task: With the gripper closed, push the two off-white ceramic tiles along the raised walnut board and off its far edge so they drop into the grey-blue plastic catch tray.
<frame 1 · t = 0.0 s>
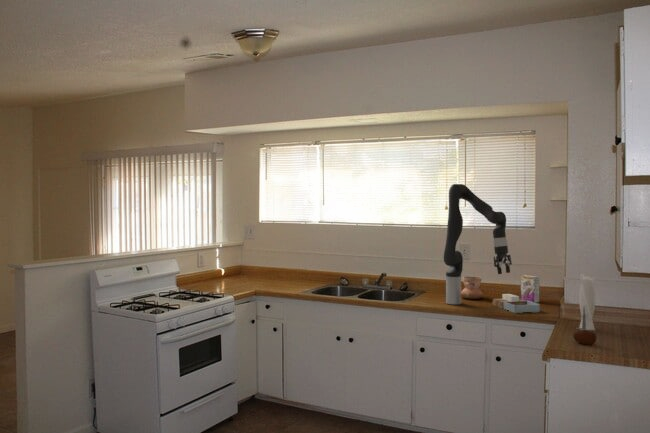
hand: (504, 273, 326), 22 cm above the countertop, tool pointing down, fingers open, 8 cm apart
tile b: (512, 300, 339), point 4 cm above the countertop, touching board
ceramic jug: (472, 298, 373), on the countertop
white statue: (586, 329, 282), on the countertop
candy bar box: (529, 301, 359), on the countertop
tile a: (508, 299, 345), point 4 cm above the countertop, touching board
potato: (584, 344, 253), on the countertop
tray: (521, 310, 330), on the countertop
board: (509, 306, 343), on the countertop
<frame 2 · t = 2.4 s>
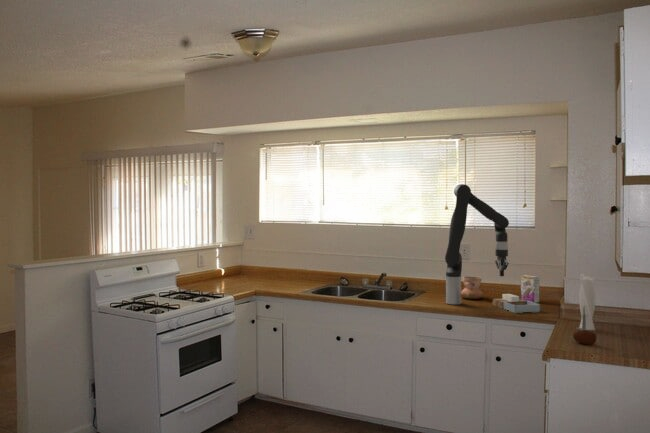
hand: (501, 276, 352), 17 cm above the countertop, tool pointing down, fingers closed
nothing on the countertop moved.
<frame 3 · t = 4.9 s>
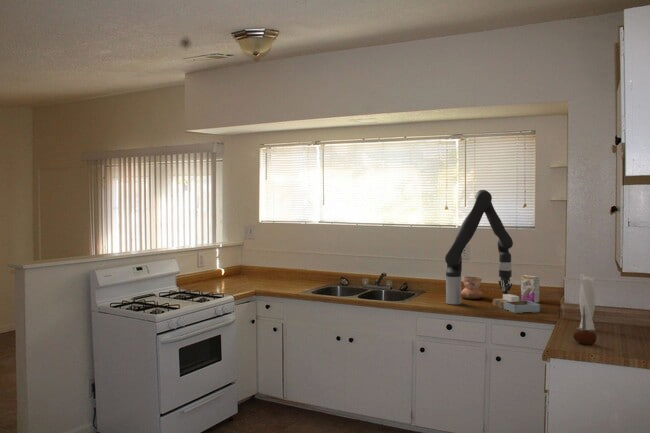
hand: (505, 297, 349), 5 cm above the countertop, tool pointing down, fingers closed
tile a: (508, 299, 344), point 4 cm above the countertop, touching gripper
everything else where it was.
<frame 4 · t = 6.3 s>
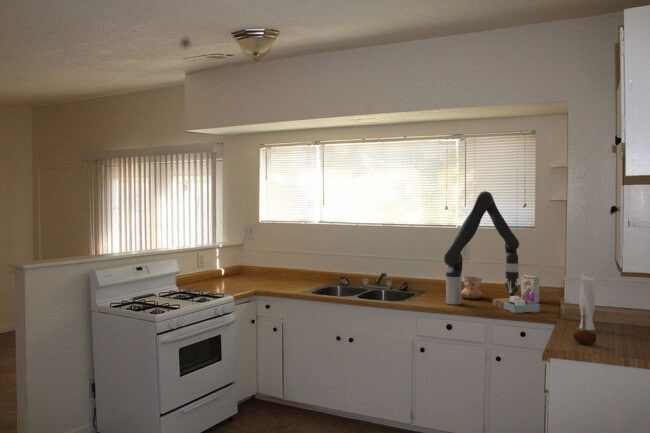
hand: (512, 299, 341), 5 cm above the countertop, tool pointing down, fingers closed
tile b: (518, 304, 333), point 3 cm above the countertop, tilted 90°, touching tray
tile a: (515, 301, 337), point 4 cm above the countertop, touching board, gripper
everything else where it was.
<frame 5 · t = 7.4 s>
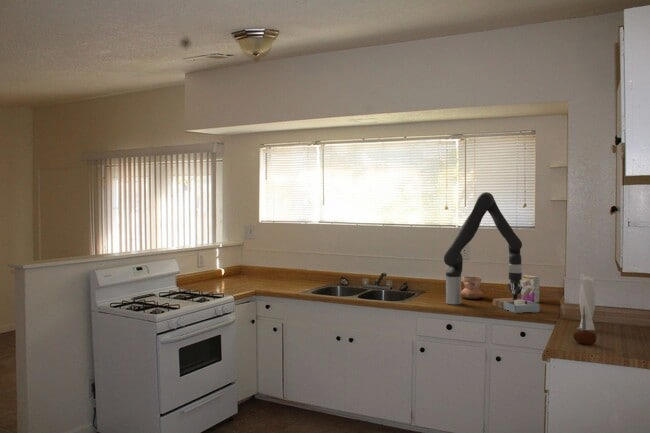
hand: (515, 300, 337), 5 cm above the countertop, tool pointing down, fingers closed
tile b: (523, 305, 328), point 4 cm above the countertop, tilted 180°, touching tray
tile a: (518, 304, 334), point 3 cm above the countertop, tilted 88°, touching tray
everything else where it was.
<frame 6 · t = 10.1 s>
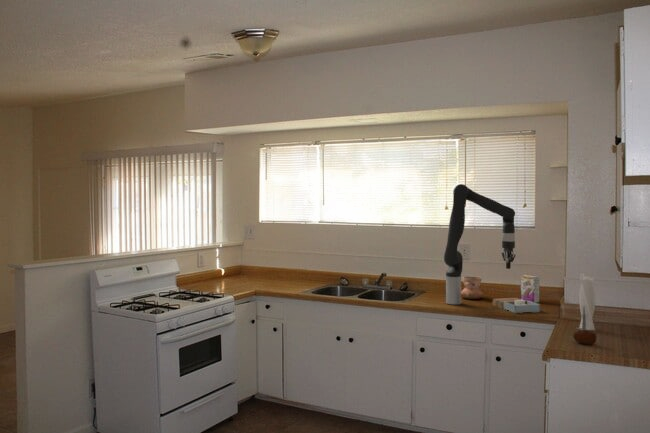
hand: (508, 268, 344), 23 cm above the countertop, tool pointing down, fingers closed
nothing on the countertop moved.
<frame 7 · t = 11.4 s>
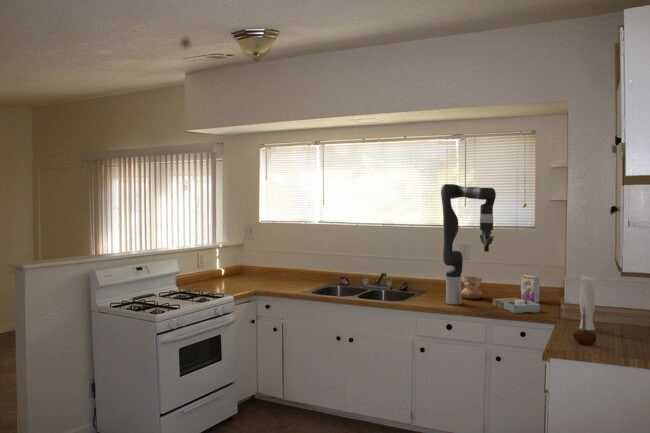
hand: (486, 251, 328), 35 cm above the countertop, tool pointing down, fingers closed
nothing on the countertop moved.
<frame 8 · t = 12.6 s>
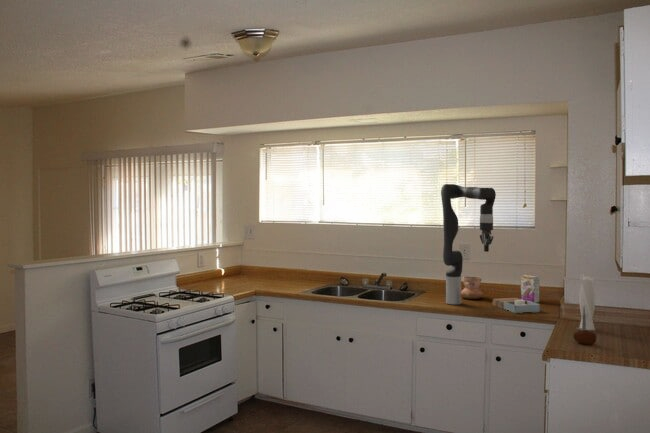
hand: (486, 251, 328), 35 cm above the countertop, tool pointing down, fingers closed
nothing on the countertop moved.
at the end: tile a inside the target area (4.9 cm from its centre), point 3.1 cm above the countertop; tile b inside the target area (1.2 cm from its centre), point 3.6 cm above the countertop; tile a touching tray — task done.
